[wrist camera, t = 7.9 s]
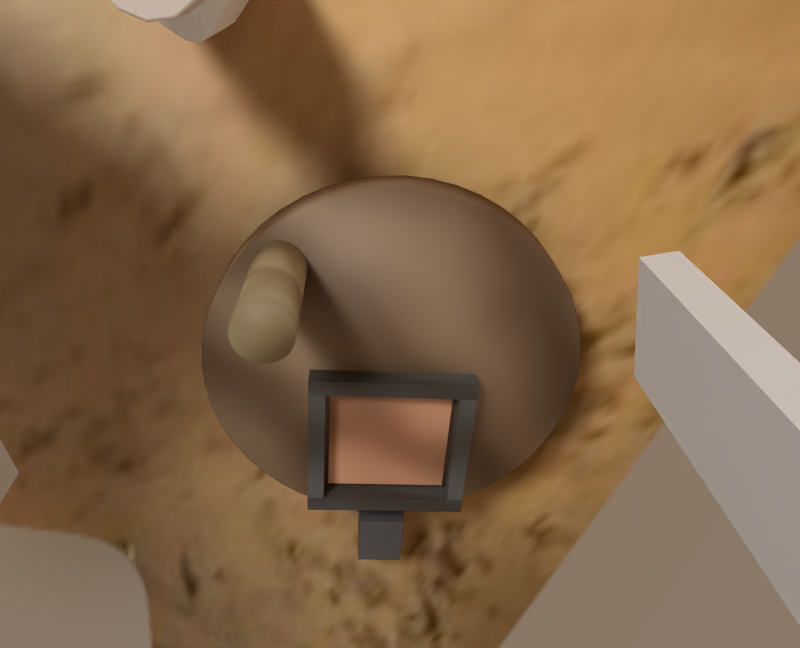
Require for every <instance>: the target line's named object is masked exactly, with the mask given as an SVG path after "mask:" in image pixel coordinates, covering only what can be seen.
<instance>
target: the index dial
mask: <svg viewBox="0 0 800 648" xmlns="http://www.w3.org/2000/svg"><path fill="white" fill-rule="evenodd" d="M579 362H580V330H579V323H578V317H577V313H576V310H575V307H574V303H573V300H572V297H571V294H570V292H569V290H568V288H567V286H566V284H565V282H564V280H563V278H562V276H561V274H560V273H559V271H558V269H557V268H556V266H555V264H554V263H553V261H552V259H551V258H550V256H549V255H548V253H547V252H546V251H545V249H544V248H543V246H542V245H541V244H540V242H539V241H538V239H537V238H536V237H535V236H534V235H533V234H532V233H531V232H530V231H529V230H528V229H527V228H526V227H525V226H524V225H523V223H522V222H521V221H519V220H518V219H517V218H515V217H514V216H513V215H512V214H510V213H509V212H508V211H506V210H505V209H504V208H502V207H501V206H499V205H497V204H496V203H494V202H492V201H490V200H489V199H487V198H485V197H483V196H482V195H480V194H477V193H475V192H472V191H470V190H467V189H465V188H462V187H460V186H457V185H454V184H450V183H446V182H442V181H438V180H434V179H429V178H420V177H412V176H374V177H367V178H360V179H353V180H349V181H345V182H341V183H338V184H334V185H331V186H327V187H324V188H322V189H320V190H317V191H315V192H312V193H310V194H308V195H305V196H303V197H301V198H299V199H298V200H296V201H294V202H293V203H291V204H289V205H287V206H286V207H284V208H282V209H281V210H279V211H278V212H277V213H275V214H274V215H273V216H272V217H270V218H269V219H268V220H267V221H265V222H264V223H263V224H262V225H260V226H259V227H258V228H257V230H256V231H255V232H254V233H253V234H252V235H251V236H250V237H249V238H248V239H247V240H246V241H245V242H244V243H243V245H242V246H241V248H240V249H239V250H238V252H237V253H236V255H235V256H234V258H233V259H232V260H231V262H230V264H229V266H228V268H227V270H226V272H225V274H224V276H223V278H222V280H221V282H220V284H219V286H218V289H217V291H216V294H215V296H214V298H213V301H212V304H211V307H210V310H209V313H208V316H207V319H206V322H205V328H204V335H203V341H202V368H203V374H204V380H205V386H206V390H207V393H208V396H209V399H210V402H211V405H212V408H213V410H214V412H215V414H216V416H217V418H218V420H219V422H220V424H221V425H222V427H223V428H224V430H225V431H226V433H227V434H228V436H229V437H230V438H231V440H232V441H233V443H234V444H235V445H236V446H237V447H238V448H239V449H240V450H241V452H242V453H243V454H244V455H245V456H246V457H247V458H248V459H249V460H250V461H252V462H253V463H254V464H255V465H256V466H257V467H259V468H260V469H261V470H262V471H263V472H265V473H266V474H268V475H269V476H271V477H272V478H274V479H275V480H277V481H278V482H280V483H282V484H284V485H285V486H287V487H289V488H291V489H293V490H295V491H297V492H299V493H302V494H304V495H307V496H308V509H309V510H379V511H449V512H460V510H461V503H462V497H464V496H467V495H470V494H472V493H474V492H476V491H478V490H481V489H483V488H485V487H487V486H489V485H490V484H492V483H494V482H496V481H497V480H499V479H501V478H502V477H504V476H506V475H507V474H508V473H510V472H511V471H512V470H514V469H515V468H517V467H518V466H519V465H521V464H522V463H523V462H524V461H525V460H526V459H527V458H528V457H529V456H531V455H532V454H533V453H534V452H535V451H536V450H537V449H538V448H539V447H540V445H541V444H542V443H543V442H544V441H545V440H546V438H547V437H548V436H549V435H550V434H551V432H552V431H553V429H554V428H555V426H556V424H557V423H558V421H559V420H560V418H561V417H562V415H563V413H564V411H565V409H566V407H567V404H568V402H569V400H570V398H571V395H572V392H573V389H574V386H575V383H576V379H577V375H578V369H579Z"/></svg>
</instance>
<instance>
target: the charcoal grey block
mask: <svg viewBox="0 0 800 648" xmlns="http://www.w3.org/2000/svg"><path fill="white" fill-rule="evenodd" d="M403 522H404V521H403V511H379V510H359V518H358V559H375V560H400V553H401V543H402V532H403Z"/></svg>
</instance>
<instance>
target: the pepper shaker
mask: <svg viewBox="0 0 800 648" xmlns="http://www.w3.org/2000/svg"><path fill="white" fill-rule="evenodd" d="M110 1H111V3H112V4H113V5H114V6H115V7H116V8H117V9H118V10H121V11H123V12H125V13H128V14H130V15H132V16H135V17H137V18H139V19H142V20H144V21H146V22H152V21H158V22H160V23H161V24H162V25H164V26H165V27H167V28H168V29H170V30H171V31H173V32H174V33H176V34H177V35H179V36H180V37H181V38H183V39H184V40H188V41H192V42H197V43H201V42H202V41H204V40H206V39H208V38H209V37H211V36H213V35H214V34H216V33H218V32H219V31H221V30H223V29H225V28H226V27H228V26H229V25H231V24H233V23H234V22H236V20H237V19H238V17H239V16H240V14H241V12H242V11H243V9H244V8H245V6H246V4H247V3H248V1H249V0H110Z"/></svg>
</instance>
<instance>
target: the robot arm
mask: <svg viewBox="0 0 800 648" xmlns="http://www.w3.org/2000/svg"><path fill="white" fill-rule="evenodd" d="M634 377H635V378H636V380H637V381H638V383H639V384H640V386H641V387H642V389H643V390H644V392H645V393H646V395H647V396H648V398H649V399H650V401H651V402H652V404H653V406H654V407H655V409H656V410H657V412H658V413H659V415H660V416H661V418H662V419H663V421H664V422H665V424H666V425H667V427H668V428H669V430H670V431H671V432H672V434H673V436H674V437H675V439H676V440H677V442H678V443H679V445H680V446H681V448H682V449H683V451H684V452H685V454H686V455H687V457H688V458H689V460H690V461H691V463H692V464H693V466H694V467H695V469H696V470H697V472H698V473H699V475H700V476H701V478H702V479H703V481H704V482H705V484H706V485H707V487H708V488H709V490H710V491H711V493H712V494H713V496H714V497H715V499H716V500H717V502H718V503H719V505H720V507H721V508H722V509H723V511H724V513H725V514H726V515H727V517H728V519H729V520H730V522H731V523H732V525H733V526H734V528H735V529H736V531H737V532H738V534H739V535H740V536H741V538H742V540H743V541H744V543H745V544H746V546H747V547H748V549H749V550H750V551H751V553H752V555H753V556H754V558H755V559H756V561H757V562H758V564H759V565H760V567H761V568H762V570H763V571H764V573H765V574H766V576H767V577H768V579H769V580H770V582H771V583H772V585H773V586H774V588H775V589H776V591H777V592H778V594H779V595H780V597H781V598H782V600H783V601H784V603H785V604H786V606H787V608H788V609H789V611H790V612H791V614H792V615H793V617H794V618H795V619H796V621H797V623H798V624H799V626H800V363H799V362H798V361H797V360H796V359H795V358H794V357H793V356H792V355H791V354H790V353H788V352H787V351H786V350H785V349H784V348H783V347H782V346H781V345H779V343H778V342H777V341H776V340H775V339H773V338H772V337H771V336H770V335H769V334H768V333H767V332H766V331H765V330H764V329H763V328H761V327H760V326H759V325H758V324H757V323H756V322H755V321H754V320H753V319H752V318H751V317H750V316H749V315H748V314H747V313H745V312H744V311H743V310H742V309H741V308H740V307H739V306H738V305H737V304H736V303H735V302H734V301H733V300H731V299H730V298H729V297H728V296H727V295H726V294H725V293H724V292H723V291H722V290H721V289H720V288H719V287H717V286H716V285H715V284H714V283H713V282H712V281H711V280H710V279H709V278H708V277H707V276H706V275H705V274H703V273H702V272H701V271H700V270H699V269H698V268H697V267H696V266H695V265H694V264H693V263H692V262H691V261H689V260H688V259H687V258H686V257H685V256H684V255H683V254H682V253H681V252H680V251H676V252H670V253H663V254H657V255H651V256H644V257H639V272H638V295H637V319H636V343H635V366H634ZM18 474H19V472H18V470H17V468H16V466H15V465H14V463H13V461H12V459H11V457H10V456H9V454H8V452H7V450H6V449H5V447H4V445H3V443H2V442H1V440H0V503H1V502H2V500H3V498H4V497H5V495H6V493H7V492H8V490H9V488H10V487H11V485H12V484H13V482H14V480H15V479H16V477H17V475H18Z"/></svg>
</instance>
